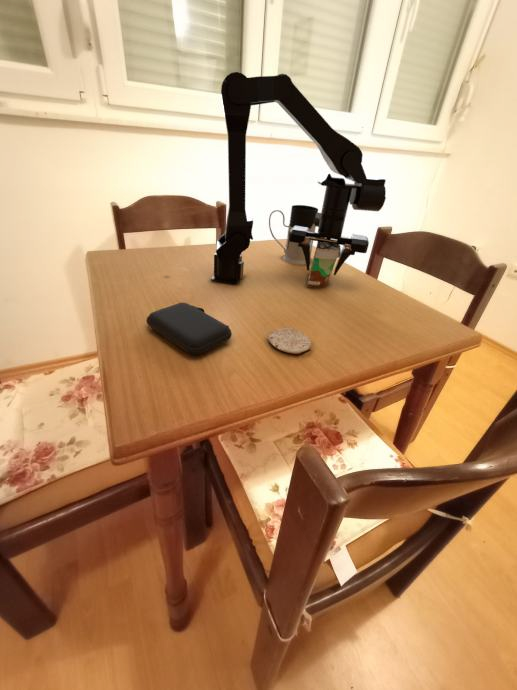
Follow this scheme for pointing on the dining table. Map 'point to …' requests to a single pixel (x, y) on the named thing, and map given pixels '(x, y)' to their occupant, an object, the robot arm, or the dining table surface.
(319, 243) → the food container
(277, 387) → the dining table surface
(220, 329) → the carrying case
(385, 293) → the dining table surface
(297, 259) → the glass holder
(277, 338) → the flatbread
